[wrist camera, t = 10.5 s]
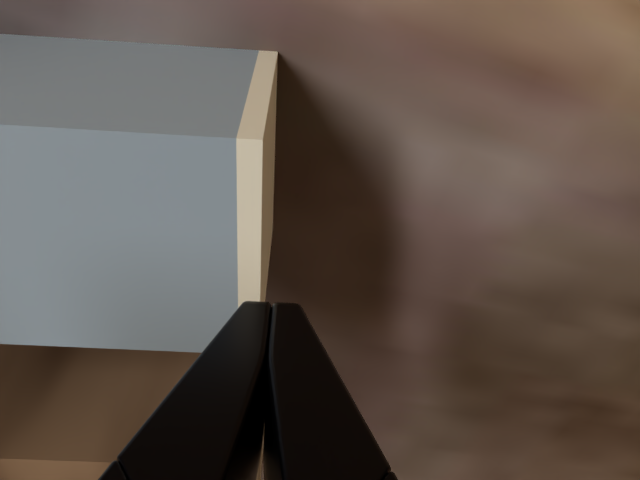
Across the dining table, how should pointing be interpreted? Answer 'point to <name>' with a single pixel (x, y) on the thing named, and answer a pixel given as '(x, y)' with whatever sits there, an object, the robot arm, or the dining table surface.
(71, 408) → the walnut block
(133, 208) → the gray block
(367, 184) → the dining table surface
